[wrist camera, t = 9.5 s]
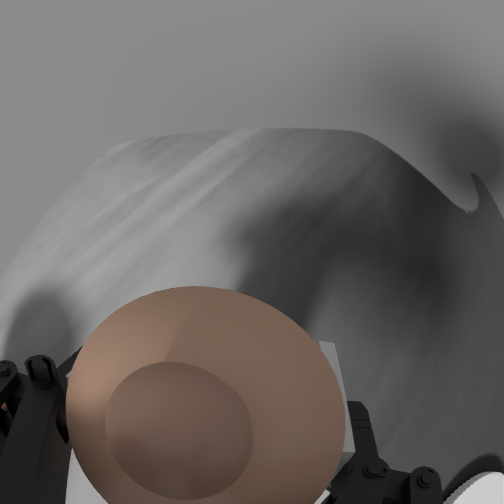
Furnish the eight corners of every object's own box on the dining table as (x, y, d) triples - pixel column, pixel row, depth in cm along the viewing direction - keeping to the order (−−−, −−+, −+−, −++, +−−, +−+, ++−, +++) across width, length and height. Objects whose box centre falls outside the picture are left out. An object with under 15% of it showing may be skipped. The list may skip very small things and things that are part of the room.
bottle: (229, 323, 18) (205, 196, 7) (317, 412, 15) (439, 419, 4) (134, 398, 15) (-11, 368, 4) (218, 492, 12) (177, 609, 2)
